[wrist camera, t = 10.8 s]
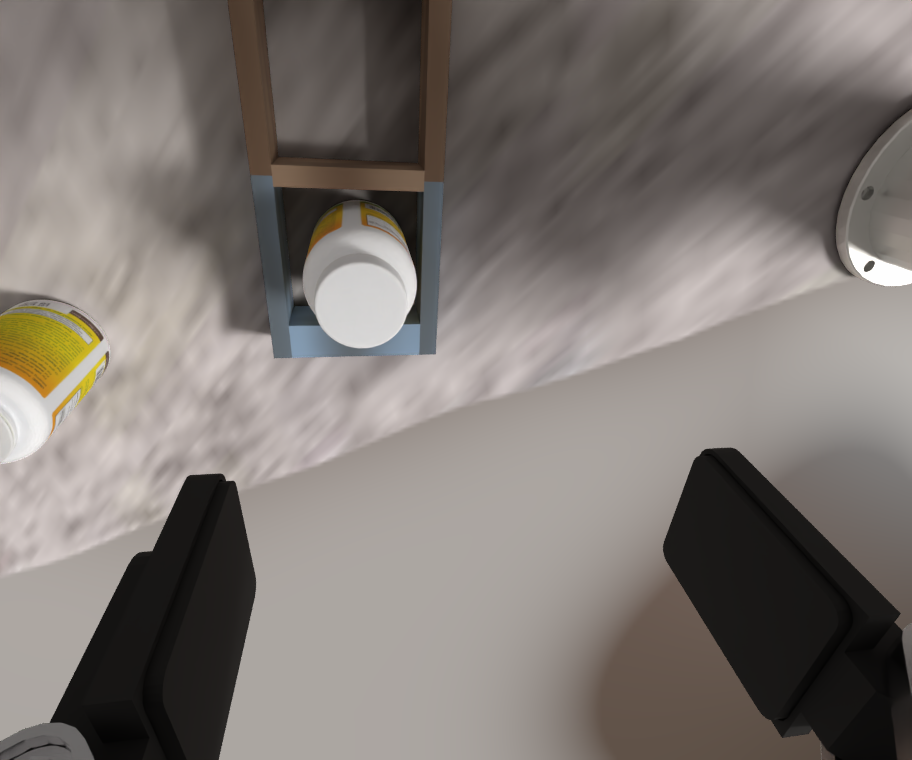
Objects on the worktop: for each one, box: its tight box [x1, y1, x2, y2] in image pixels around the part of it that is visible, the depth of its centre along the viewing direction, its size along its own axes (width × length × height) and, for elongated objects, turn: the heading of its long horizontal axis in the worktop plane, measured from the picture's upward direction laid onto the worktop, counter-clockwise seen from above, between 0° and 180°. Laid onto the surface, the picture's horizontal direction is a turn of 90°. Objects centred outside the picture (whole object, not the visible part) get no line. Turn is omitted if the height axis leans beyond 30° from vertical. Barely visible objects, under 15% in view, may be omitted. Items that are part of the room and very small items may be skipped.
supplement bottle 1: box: [0, 300, 110, 464], centre depth 25 cm, size 6×6×10 cm
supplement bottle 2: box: [303, 200, 417, 348], centre depth 26 cm, size 5×5×10 cm
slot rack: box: [228, 0, 452, 358], centre depth 27 cm, size 9×20×3 cm, turn 176°
